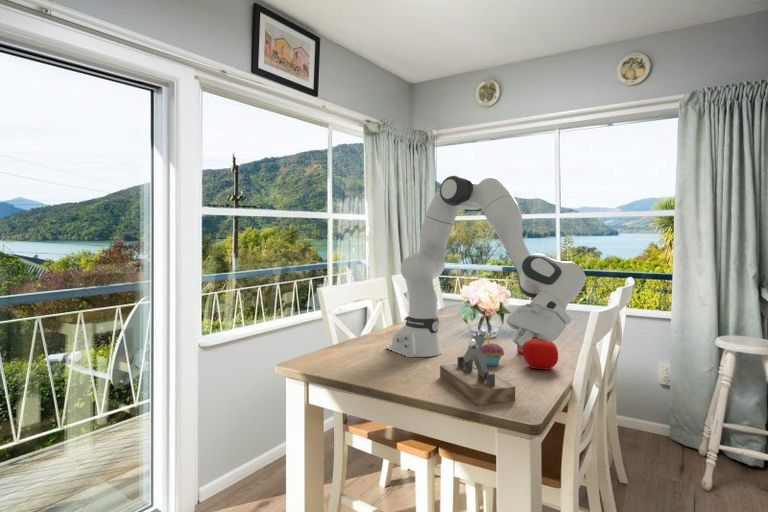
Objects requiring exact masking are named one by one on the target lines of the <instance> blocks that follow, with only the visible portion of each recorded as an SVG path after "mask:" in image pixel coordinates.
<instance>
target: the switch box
mask: <svg viewBox="0 0 768 512" xmlns="http://www.w3.org/2000/svg"><path fill="white" fill-rule="evenodd" d="M463 357H464V355H463V356H462V355H461V356H457V363H454V364H443V365H439V378H440V380H442V381H444V383H446V384H448V385H449V386H450V387H451V388H453V389H454V390H455V391H456V392H458V393H459V394H461V395H462V396H463V397H464V398H466V399H467V400H469V401H470V402H471V403H473V404H474V405H475V406H476V407H478V406H484V405H492V404H500V403H507V402H508V401H509V402H515V401H516V386H515V385H513V384H512V383H510V382H508V381H506V380H505V379H503V378H502V377H499V376H497V375H496V374H495V373H494V372H493V373H492V372H491V371H489V374H486V380H485V379H483V378H482V377H480V375H479V373H478V370H477V368H476V365H475V362H474V361H472V360H471V361H465V363H463V362H461V361H462V359H463Z"/></svg>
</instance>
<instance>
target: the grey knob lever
mask: <svg viewBox="0 0 768 512" xmlns="http://www.w3.org/2000/svg"><path fill="white" fill-rule="evenodd" d="M486 333H487V332H486V330H484V329H481V330H480V331H479V332H478V333H476V334H475V336H474V338H473V340H475V341H476V345H477V346H479V348H480V349H481V347H482V346H483V345H484V343H485V341H487V338H485V337H487V335H486ZM463 356H464V357H463V359H462V361H461V362H463V363H465V361H471V360H472V361H473V362H474V360H473V357H472V355H471V352H470V349H469V347H468V348H467V350H466V352H465V353H464V355H463Z"/></svg>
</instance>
